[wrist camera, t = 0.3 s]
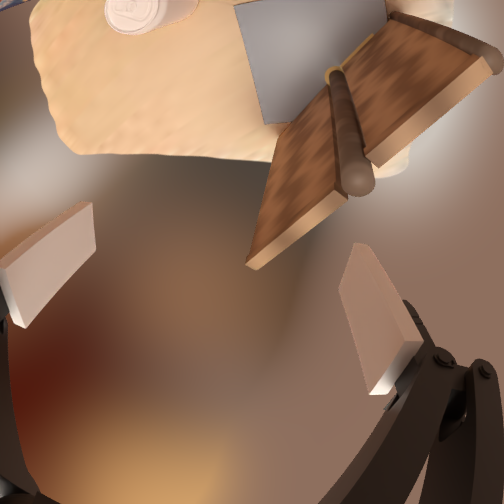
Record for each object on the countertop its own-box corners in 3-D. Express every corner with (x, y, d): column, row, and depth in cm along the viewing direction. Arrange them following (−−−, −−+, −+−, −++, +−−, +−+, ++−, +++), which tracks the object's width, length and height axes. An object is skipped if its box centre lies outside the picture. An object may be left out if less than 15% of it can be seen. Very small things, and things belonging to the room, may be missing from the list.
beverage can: (190, 27, 31) (150, 43, 24) (143, 16, 30) (95, 32, 22) (209, -19, 25) (172, -20, 18) (158, -29, 24) (110, -27, 16)
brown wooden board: (326, 83, 35) (334, 189, 20) (333, 88, 35) (348, 200, 20) (276, 137, 44) (244, 264, 29) (283, 142, 44) (256, 270, 29)
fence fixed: (338, 87, 36) (358, 202, 20) (325, 77, 35) (334, 183, 19) (407, 19, 24) (518, 73, 8) (394, 7, 23) (499, 41, 8)
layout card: (234, 5, 28) (233, 5, 28) (383, -6, 22) (383, -6, 22) (264, 123, 43) (264, 124, 43) (391, 118, 37) (392, 120, 37)
